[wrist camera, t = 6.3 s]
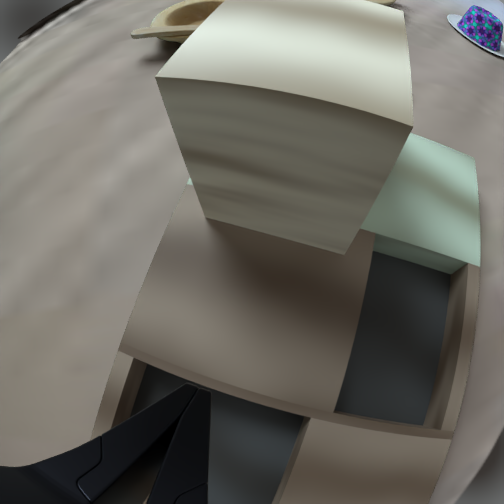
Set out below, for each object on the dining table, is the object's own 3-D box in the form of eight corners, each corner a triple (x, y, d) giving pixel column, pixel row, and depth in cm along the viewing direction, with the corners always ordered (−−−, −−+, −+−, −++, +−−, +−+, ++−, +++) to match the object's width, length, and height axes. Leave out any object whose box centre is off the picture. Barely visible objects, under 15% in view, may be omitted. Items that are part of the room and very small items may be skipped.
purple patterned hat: (447, 34, 31) (457, 7, 26) (444, 10, 35) (451, -12, 30) (514, 71, 29) (526, 47, 24) (502, 40, 33) (511, 20, 28)
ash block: (344, 255, 17) (413, 126, 8) (205, 217, 18) (154, 76, 9) (365, 136, 20) (402, 11, 11) (253, 109, 21) (244, -18, 12)
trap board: (385, 546, 12) (415, 584, 7) (100, 469, 15) (52, 489, 10) (460, 175, 22) (492, 134, 16) (238, 113, 24) (231, 59, 19)
